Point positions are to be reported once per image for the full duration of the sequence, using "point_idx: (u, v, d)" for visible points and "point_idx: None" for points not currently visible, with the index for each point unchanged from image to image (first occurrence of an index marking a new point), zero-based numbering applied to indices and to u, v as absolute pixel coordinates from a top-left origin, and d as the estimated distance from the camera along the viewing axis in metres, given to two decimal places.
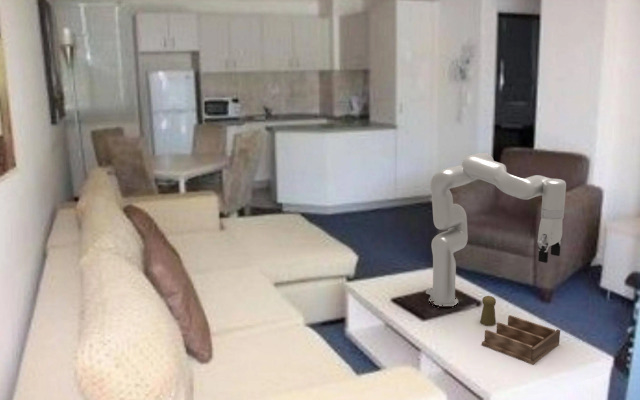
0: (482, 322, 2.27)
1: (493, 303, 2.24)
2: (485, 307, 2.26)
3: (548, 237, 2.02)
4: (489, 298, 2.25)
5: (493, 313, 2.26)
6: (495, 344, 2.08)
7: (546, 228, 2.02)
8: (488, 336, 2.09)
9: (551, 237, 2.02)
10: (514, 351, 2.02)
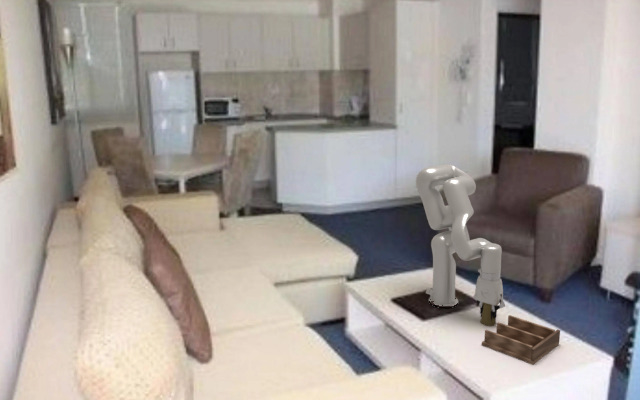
0: (482, 322, 2.27)
1: None
2: (485, 307, 2.26)
3: (502, 295, 2.23)
4: None
5: None
6: (495, 344, 2.08)
7: (501, 288, 2.22)
8: (488, 336, 2.09)
9: None
10: (514, 351, 2.02)
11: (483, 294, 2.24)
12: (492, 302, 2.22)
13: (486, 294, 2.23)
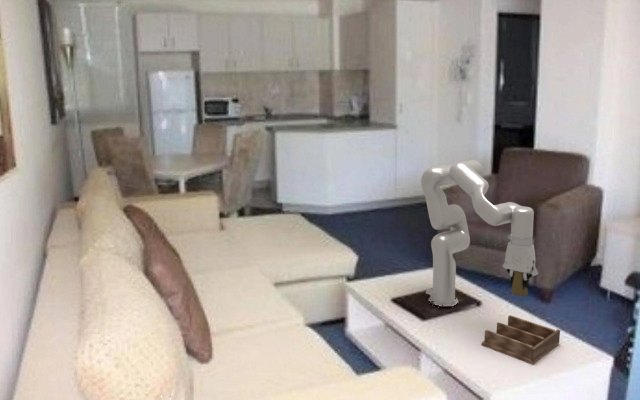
0: (513, 292, 2.11)
1: None
2: (516, 276, 2.10)
3: None
4: None
5: None
6: (495, 344, 2.08)
7: (534, 254, 2.06)
8: (488, 336, 2.09)
9: None
10: (514, 351, 2.02)
11: (514, 261, 2.09)
12: (524, 269, 2.06)
13: (517, 261, 2.08)
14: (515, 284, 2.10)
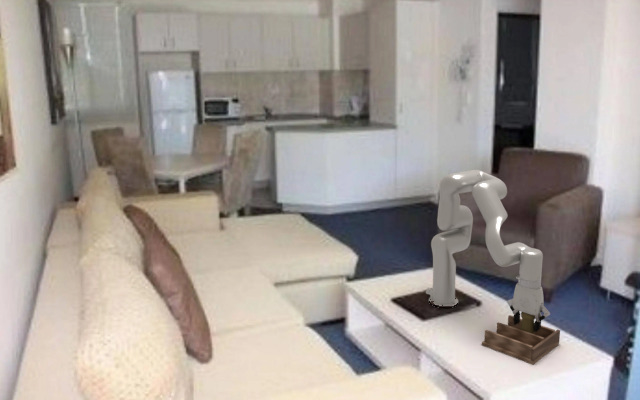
0: None
1: (533, 317, 2.08)
2: (524, 321, 2.10)
3: None
4: None
5: (533, 328, 2.10)
6: (495, 344, 2.08)
7: (542, 297, 2.06)
8: (488, 336, 2.09)
9: None
10: (514, 351, 2.02)
11: (522, 303, 2.08)
12: (532, 312, 2.06)
13: (525, 303, 2.07)
14: (523, 330, 2.10)
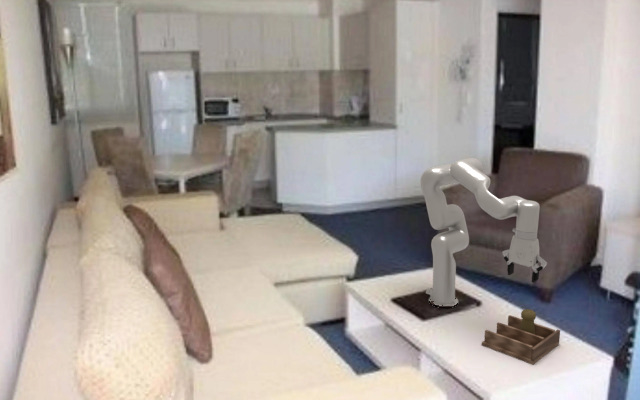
0: None
1: (533, 317, 2.08)
2: (524, 321, 2.10)
3: (539, 256, 2.08)
4: (529, 312, 2.09)
5: (533, 328, 2.10)
6: (495, 344, 2.08)
7: (538, 248, 2.07)
8: (488, 336, 2.09)
9: None
10: (514, 351, 2.02)
11: (518, 255, 2.10)
12: (528, 263, 2.08)
13: (521, 255, 2.09)
14: (523, 330, 2.10)
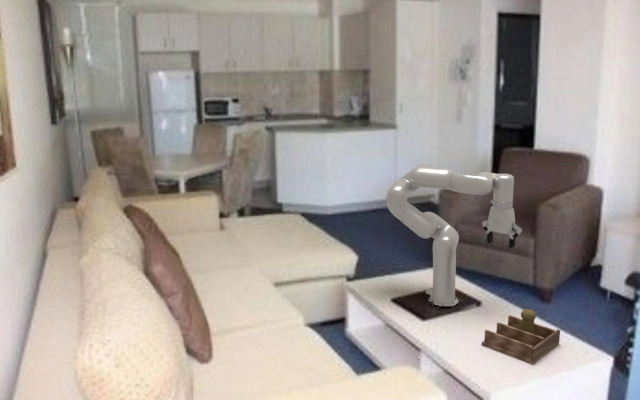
0: None
1: (533, 317, 2.08)
2: (524, 321, 2.10)
3: (514, 224, 2.29)
4: (529, 312, 2.09)
5: (533, 328, 2.10)
6: (495, 344, 2.08)
7: (513, 217, 2.28)
8: (488, 336, 2.09)
9: None
10: (514, 351, 2.02)
11: (496, 224, 2.30)
12: (504, 231, 2.28)
13: (499, 223, 2.29)
14: (523, 330, 2.10)
